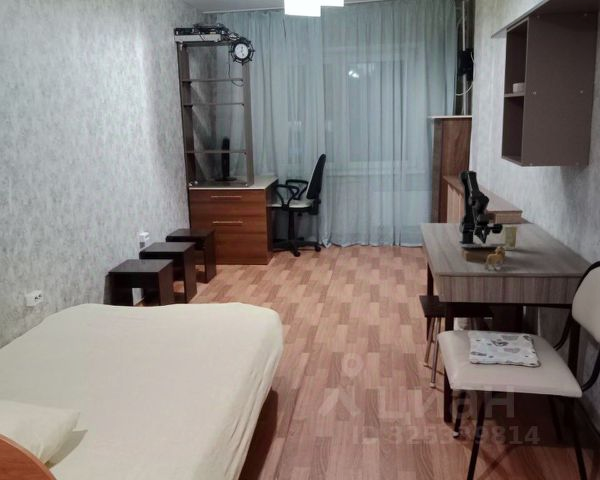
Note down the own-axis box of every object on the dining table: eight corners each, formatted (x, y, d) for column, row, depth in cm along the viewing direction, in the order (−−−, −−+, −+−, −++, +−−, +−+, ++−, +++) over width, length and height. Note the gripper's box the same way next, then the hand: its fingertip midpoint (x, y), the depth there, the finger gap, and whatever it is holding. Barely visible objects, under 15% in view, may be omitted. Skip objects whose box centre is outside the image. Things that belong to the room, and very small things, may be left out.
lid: (460, 247, 283) (460, 244, 283) (497, 246, 282) (497, 244, 282) (467, 246, 270) (467, 243, 270) (505, 246, 269) (505, 243, 269)
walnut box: (460, 254, 284) (460, 247, 283) (497, 254, 283) (497, 246, 282) (466, 261, 272) (466, 253, 271) (504, 260, 271) (505, 252, 270)
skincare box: (504, 250, 290) (506, 226, 287) (499, 248, 294) (501, 225, 291) (515, 249, 291) (517, 225, 289) (510, 247, 296) (511, 224, 293)
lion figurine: (495, 263, 267) (496, 244, 265) (506, 264, 264) (507, 246, 262) (482, 270, 256) (482, 250, 254) (493, 272, 253) (494, 252, 251)
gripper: (463, 207, 274) (467, 234, 266) (503, 206, 273) (508, 234, 265) (459, 220, 284) (463, 247, 275) (497, 219, 283) (502, 246, 274)
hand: (484, 243), depth 272 cm, fingers closed
